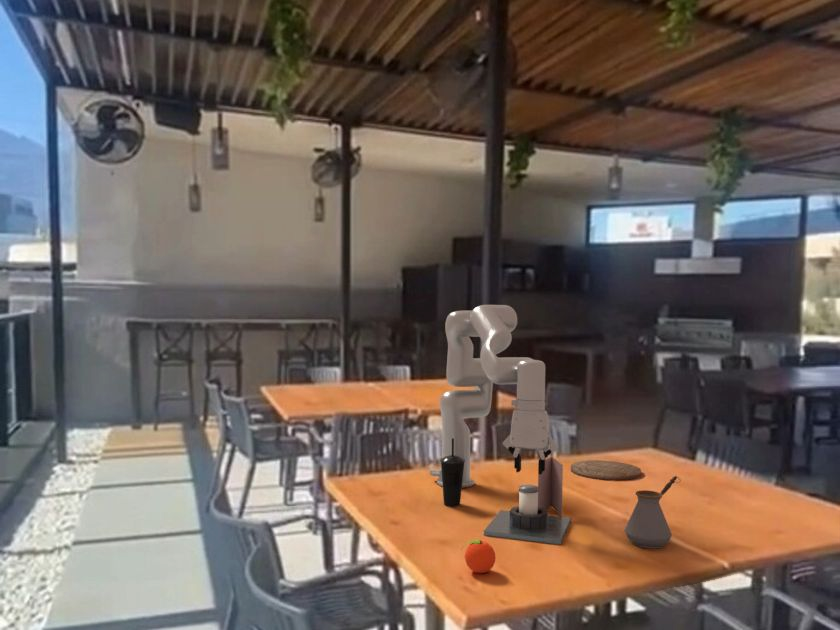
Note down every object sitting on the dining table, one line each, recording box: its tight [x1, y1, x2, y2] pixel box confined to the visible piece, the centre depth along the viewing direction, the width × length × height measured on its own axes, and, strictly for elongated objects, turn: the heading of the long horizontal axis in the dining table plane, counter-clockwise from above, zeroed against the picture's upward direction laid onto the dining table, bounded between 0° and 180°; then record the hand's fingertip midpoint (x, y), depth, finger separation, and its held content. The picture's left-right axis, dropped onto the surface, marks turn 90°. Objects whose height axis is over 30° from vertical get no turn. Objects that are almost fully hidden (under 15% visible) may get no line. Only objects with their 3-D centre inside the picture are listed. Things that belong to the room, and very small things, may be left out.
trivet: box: [570, 459, 642, 482], centre depth 257 cm, size 25×25×2 cm
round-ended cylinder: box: [518, 484, 538, 515], centre depth 190 cm, size 5×5×10 cm
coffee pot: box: [624, 475, 682, 549], centre depth 183 cm, size 21×12×15 cm, turn 134°
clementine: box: [461, 540, 497, 574], centre depth 159 cm, size 8×7×7 cm
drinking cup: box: [439, 438, 465, 508], centre depth 212 cm, size 8×8×20 cm
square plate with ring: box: [483, 505, 572, 546], centre depth 190 cm, size 20×20×5 cm
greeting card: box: [537, 456, 564, 517], centre depth 206 cm, size 11×7×15 cm, turn 150°
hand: (529, 471), depth 190 cm, fingers open, 5 cm apart
